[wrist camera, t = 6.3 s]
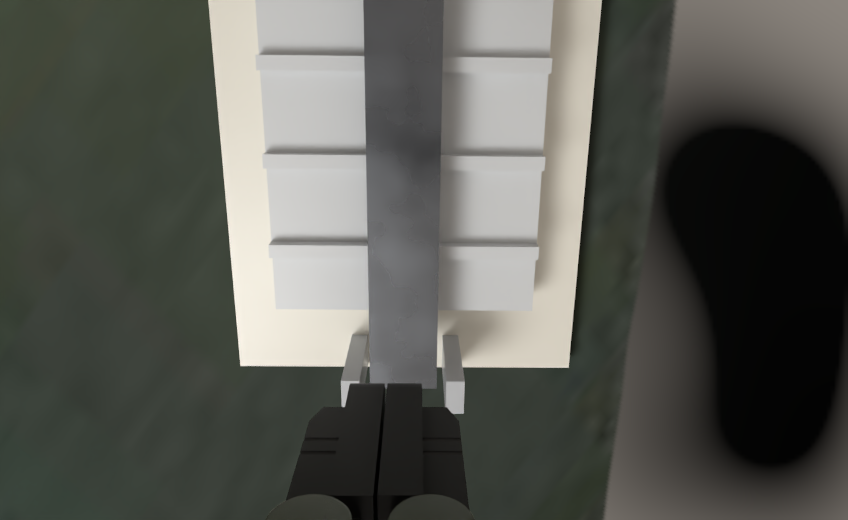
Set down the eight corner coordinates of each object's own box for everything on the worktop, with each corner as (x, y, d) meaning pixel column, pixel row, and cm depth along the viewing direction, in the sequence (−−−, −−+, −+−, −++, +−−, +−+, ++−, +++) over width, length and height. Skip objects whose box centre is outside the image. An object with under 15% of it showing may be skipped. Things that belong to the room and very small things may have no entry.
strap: (363, -125, 23) (360, -134, 22) (444, -123, 23) (446, -133, 22) (371, 376, 29) (369, 389, 28) (435, 376, 29) (436, 389, 28)
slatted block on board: (205, -112, 27) (150, -156, 21) (605, -107, 27) (653, -149, 21) (245, 356, 33) (211, 416, 28) (564, 358, 34) (593, 418, 28)
